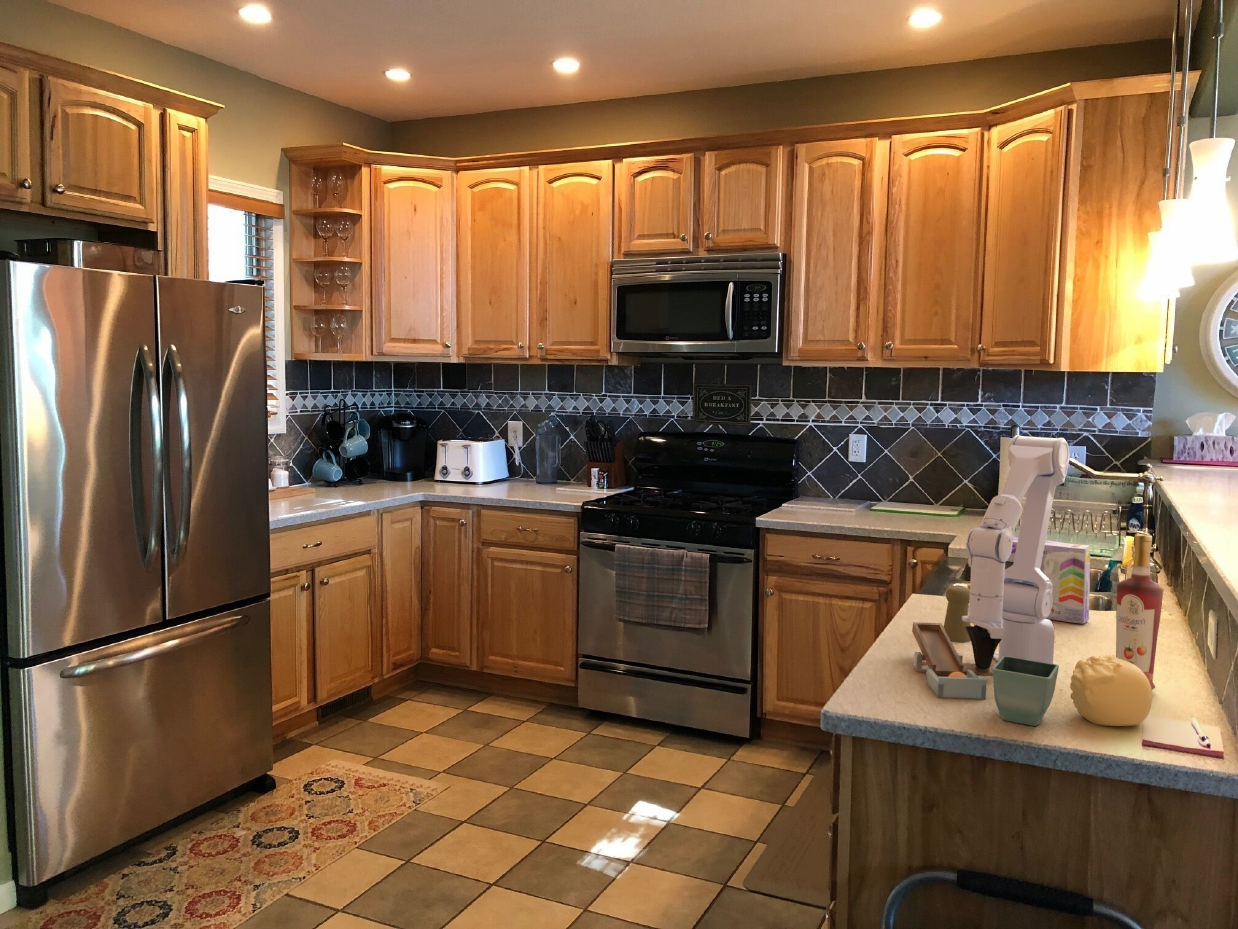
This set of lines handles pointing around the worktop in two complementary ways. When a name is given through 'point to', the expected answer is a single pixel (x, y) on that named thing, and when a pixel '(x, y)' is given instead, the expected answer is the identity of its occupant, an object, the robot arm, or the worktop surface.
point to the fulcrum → (918, 662)
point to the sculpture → (1110, 691)
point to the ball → (957, 674)
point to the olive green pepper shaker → (957, 613)
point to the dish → (957, 686)
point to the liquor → (1139, 612)
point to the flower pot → (1023, 688)
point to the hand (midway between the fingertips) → (982, 667)
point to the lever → (942, 651)
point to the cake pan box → (1065, 579)
